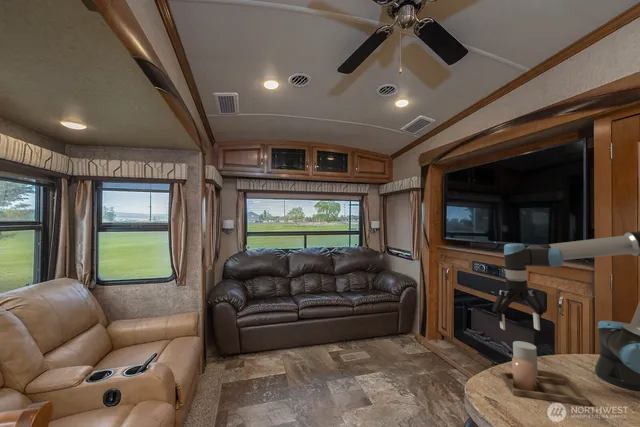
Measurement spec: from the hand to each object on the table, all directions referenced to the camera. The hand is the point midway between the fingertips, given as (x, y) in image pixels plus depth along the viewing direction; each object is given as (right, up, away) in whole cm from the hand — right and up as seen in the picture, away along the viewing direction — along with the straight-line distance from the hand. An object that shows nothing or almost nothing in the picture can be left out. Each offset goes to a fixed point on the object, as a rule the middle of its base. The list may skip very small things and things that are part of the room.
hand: (519, 329), depth 115 cm
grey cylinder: (+3, -20, 0) cm, 20 cm away
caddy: (-1, -19, -12) cm, 22 cm away
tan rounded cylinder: (-6, -19, -10) cm, 22 cm away
